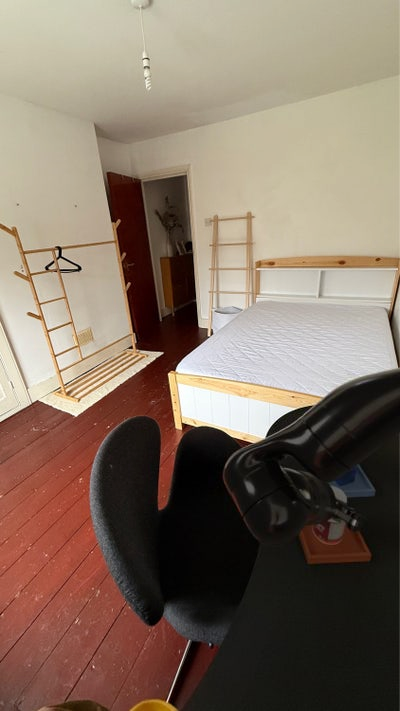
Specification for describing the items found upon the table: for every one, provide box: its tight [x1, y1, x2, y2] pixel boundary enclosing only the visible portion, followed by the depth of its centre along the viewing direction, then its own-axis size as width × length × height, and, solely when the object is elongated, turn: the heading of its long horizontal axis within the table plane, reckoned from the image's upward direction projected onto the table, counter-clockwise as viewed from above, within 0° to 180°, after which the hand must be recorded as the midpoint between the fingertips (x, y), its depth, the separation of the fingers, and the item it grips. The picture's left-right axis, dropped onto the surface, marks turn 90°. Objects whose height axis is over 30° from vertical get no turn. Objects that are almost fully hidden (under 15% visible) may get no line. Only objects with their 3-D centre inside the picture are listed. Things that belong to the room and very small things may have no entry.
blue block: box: [335, 467, 357, 486], centre depth 76 cm, size 4×4×4 cm
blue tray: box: [327, 463, 376, 499], centre depth 76 cm, size 11×11×2 cm
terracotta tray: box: [298, 522, 372, 565], centre depth 64 cm, size 12×12×2 cm
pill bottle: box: [312, 486, 348, 545], centre depth 62 cm, size 6×6×11 cm
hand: (328, 500), depth 58 cm, fingers open, 8 cm apart
